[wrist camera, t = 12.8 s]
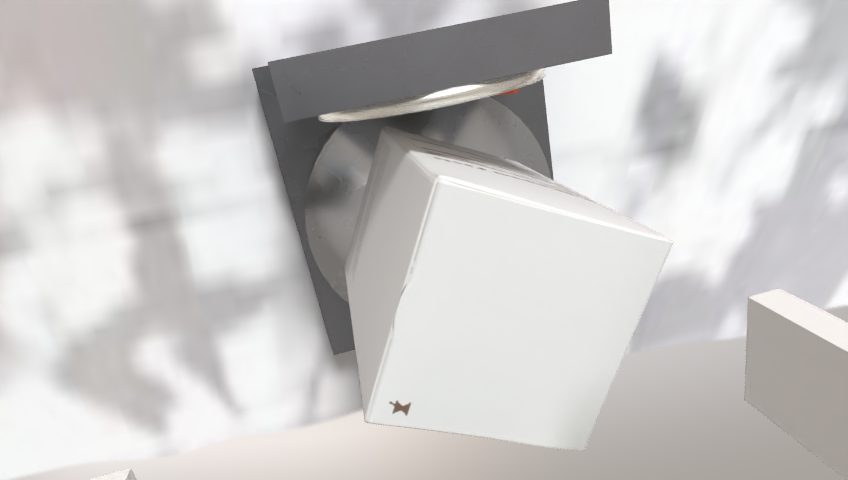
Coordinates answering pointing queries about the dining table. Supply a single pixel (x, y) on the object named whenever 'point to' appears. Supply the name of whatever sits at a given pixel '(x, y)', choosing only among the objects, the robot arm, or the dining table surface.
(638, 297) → the supplement box
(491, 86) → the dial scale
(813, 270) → the dining table surface
